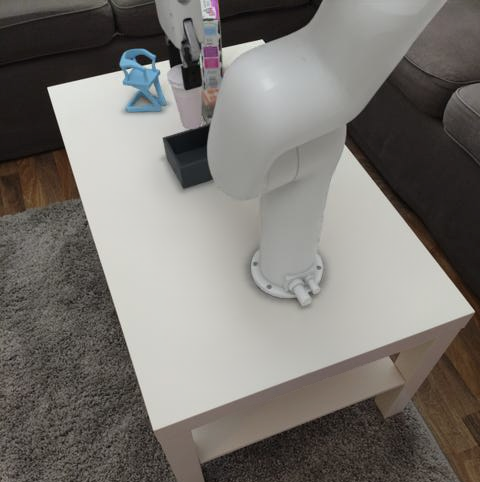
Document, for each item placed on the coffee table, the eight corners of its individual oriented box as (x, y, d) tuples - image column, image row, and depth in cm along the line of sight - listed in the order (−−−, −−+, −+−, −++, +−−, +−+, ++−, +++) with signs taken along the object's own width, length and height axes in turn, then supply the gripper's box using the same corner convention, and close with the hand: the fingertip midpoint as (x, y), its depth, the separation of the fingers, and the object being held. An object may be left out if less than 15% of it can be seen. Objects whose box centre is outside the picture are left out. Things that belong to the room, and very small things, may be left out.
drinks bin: (231, 173, 91) (230, 152, 87) (183, 189, 89) (179, 168, 85) (212, 144, 97) (210, 123, 92) (166, 158, 95) (162, 137, 90)
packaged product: (207, 109, 96) (193, 85, 101) (209, 129, 100) (196, 105, 105) (283, 89, 98) (266, 67, 103) (282, 110, 102) (265, 88, 108)
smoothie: (210, 113, 86) (203, 37, 74) (206, 134, 83) (197, 57, 71) (178, 112, 87) (165, 36, 75) (172, 133, 83) (158, 56, 71)
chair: (157, 117, 103) (146, 64, 93) (125, 111, 104) (111, 59, 94) (170, 98, 107) (160, 46, 96) (139, 93, 108) (126, 41, 98)
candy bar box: (225, 93, 107) (219, 18, 93) (204, 95, 107) (196, 20, 93) (223, 68, 113) (218, -6, 99) (203, 70, 113) (196, -4, 99)
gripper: (216, -32, 58) (224, 97, 74) (173, -75, 67) (188, 49, 82) (163, -20, 57) (182, 109, 72) (126, -65, 65) (150, 59, 81)
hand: (186, 76), depth 77 cm, fingers closed on smoothie, 6 cm apart
